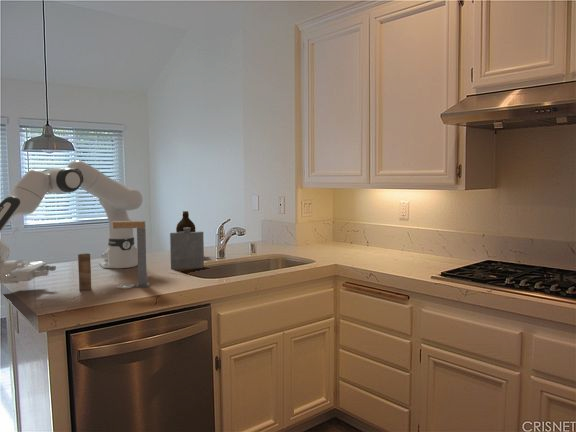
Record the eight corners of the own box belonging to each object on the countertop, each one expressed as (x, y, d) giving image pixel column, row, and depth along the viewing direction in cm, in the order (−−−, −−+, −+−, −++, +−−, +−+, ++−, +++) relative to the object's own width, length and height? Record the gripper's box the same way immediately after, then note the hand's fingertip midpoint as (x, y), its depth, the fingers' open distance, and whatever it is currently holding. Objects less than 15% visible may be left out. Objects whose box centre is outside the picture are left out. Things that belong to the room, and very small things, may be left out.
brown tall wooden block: (77, 289, 185) (76, 254, 184) (89, 287, 188) (88, 253, 187) (81, 291, 182) (80, 255, 181) (93, 289, 185) (91, 254, 184)
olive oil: (199, 254, 269) (198, 210, 267) (189, 257, 259) (188, 212, 257) (183, 253, 272) (182, 210, 270) (173, 256, 262) (172, 211, 260)
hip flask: (203, 266, 233) (202, 226, 231) (204, 267, 229) (204, 227, 227) (170, 268, 228) (169, 227, 226) (171, 270, 224) (170, 228, 222)
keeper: (114, 289, 186) (112, 222, 183) (117, 285, 193) (115, 221, 190) (148, 287, 188) (146, 222, 186) (149, 283, 195) (148, 220, 193)
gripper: (1, 269, 169) (42, 267, 172) (22, 259, 189) (58, 258, 192) (2, 286, 170) (43, 284, 172) (22, 274, 190) (59, 273, 192)
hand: (51, 270), depth 182 cm, fingers open, 8 cm apart
